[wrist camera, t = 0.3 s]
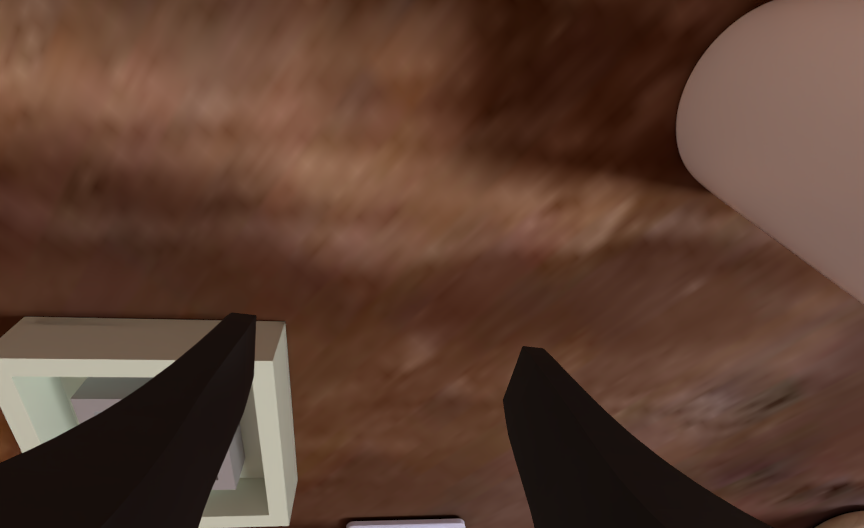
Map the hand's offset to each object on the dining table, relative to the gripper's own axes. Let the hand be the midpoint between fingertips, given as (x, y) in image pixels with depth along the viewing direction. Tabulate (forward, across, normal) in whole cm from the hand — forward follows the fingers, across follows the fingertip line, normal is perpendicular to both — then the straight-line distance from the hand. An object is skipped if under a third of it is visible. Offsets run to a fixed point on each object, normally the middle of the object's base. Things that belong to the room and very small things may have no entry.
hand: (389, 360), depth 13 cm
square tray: (+10, +9, +13) cm, 19 cm away
